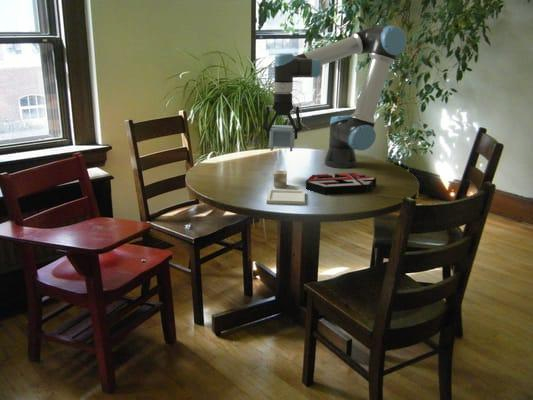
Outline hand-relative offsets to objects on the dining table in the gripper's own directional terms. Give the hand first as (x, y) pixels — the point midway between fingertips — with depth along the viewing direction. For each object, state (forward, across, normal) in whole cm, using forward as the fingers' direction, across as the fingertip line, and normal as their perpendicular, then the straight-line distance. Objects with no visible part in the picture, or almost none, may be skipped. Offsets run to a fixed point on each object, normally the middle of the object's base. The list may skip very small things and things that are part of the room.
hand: (281, 146), depth 226 cm
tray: (+14, +3, -28) cm, 31 cm away
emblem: (+14, +25, -11) cm, 31 cm away
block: (+14, 0, -12) cm, 18 cm away
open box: (+1, 0, 0) cm, 1 cm away
